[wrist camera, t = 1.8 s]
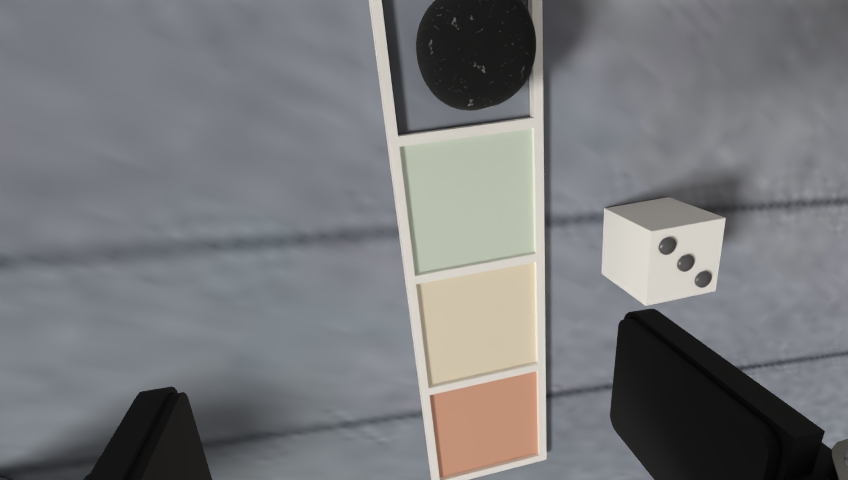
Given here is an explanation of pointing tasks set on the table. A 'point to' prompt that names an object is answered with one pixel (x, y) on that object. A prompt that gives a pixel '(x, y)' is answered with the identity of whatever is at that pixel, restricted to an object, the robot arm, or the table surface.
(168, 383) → the table surface
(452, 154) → the board
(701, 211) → the die
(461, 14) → the billiard ball
